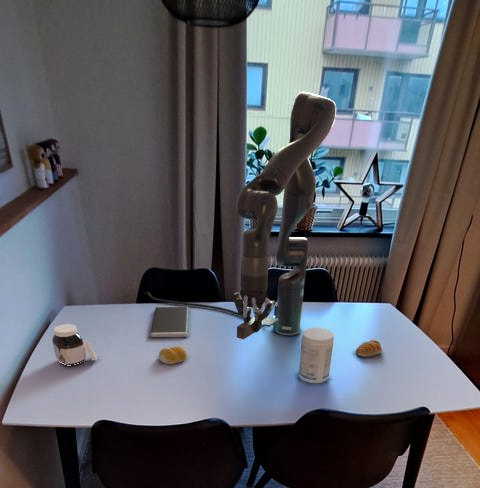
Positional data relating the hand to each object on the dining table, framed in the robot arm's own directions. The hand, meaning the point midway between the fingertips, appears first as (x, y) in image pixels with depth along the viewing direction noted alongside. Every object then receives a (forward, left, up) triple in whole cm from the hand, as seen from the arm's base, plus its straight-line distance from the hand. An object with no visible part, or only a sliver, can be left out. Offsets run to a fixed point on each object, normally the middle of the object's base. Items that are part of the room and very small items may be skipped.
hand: (252, 330), depth 141 cm
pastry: (+24, +38, -16) cm, 48 cm away
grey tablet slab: (-48, +18, -16) cm, 54 cm away
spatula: (0, +2, 0) cm, 3 cm away
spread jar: (-52, -24, -16) cm, 59 cm away
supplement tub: (+16, +11, -16) cm, 25 cm away
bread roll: (-28, -5, -16) cm, 32 cm away
